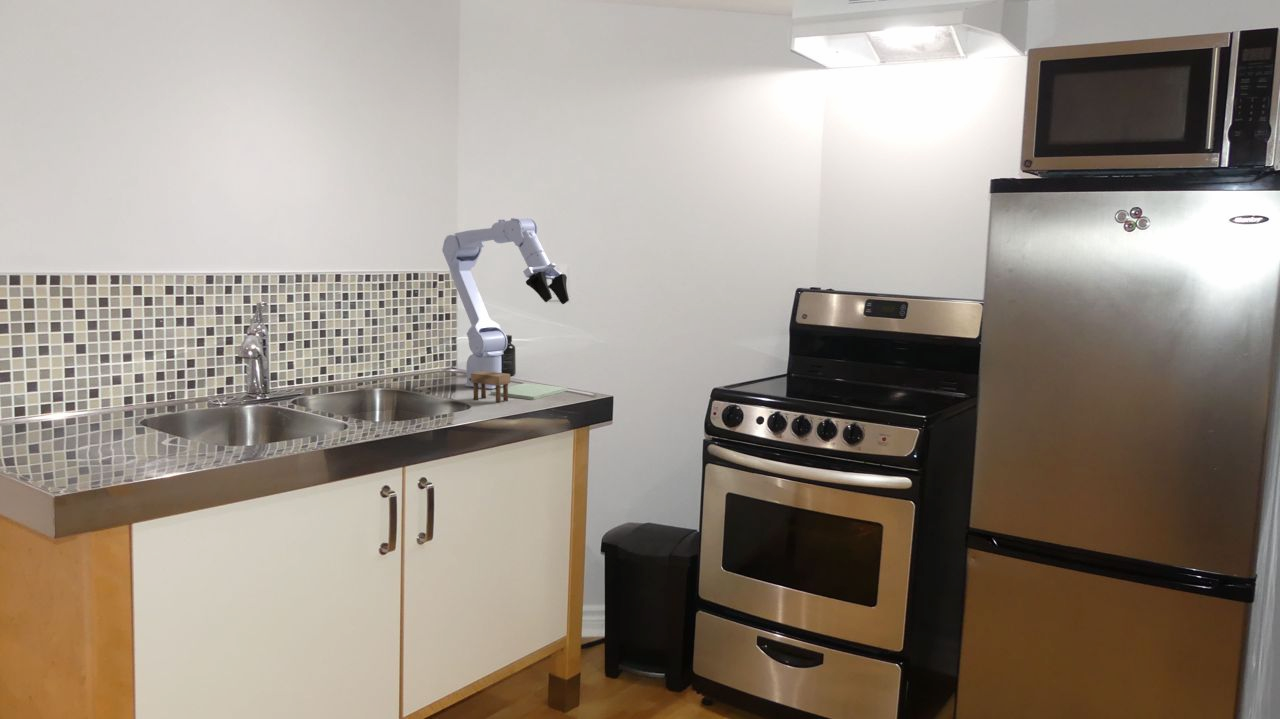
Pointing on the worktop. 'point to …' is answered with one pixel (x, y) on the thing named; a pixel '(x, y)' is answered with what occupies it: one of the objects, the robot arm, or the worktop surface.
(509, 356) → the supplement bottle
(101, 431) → the worktop surface
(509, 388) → the sage board
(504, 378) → the walnut stool
